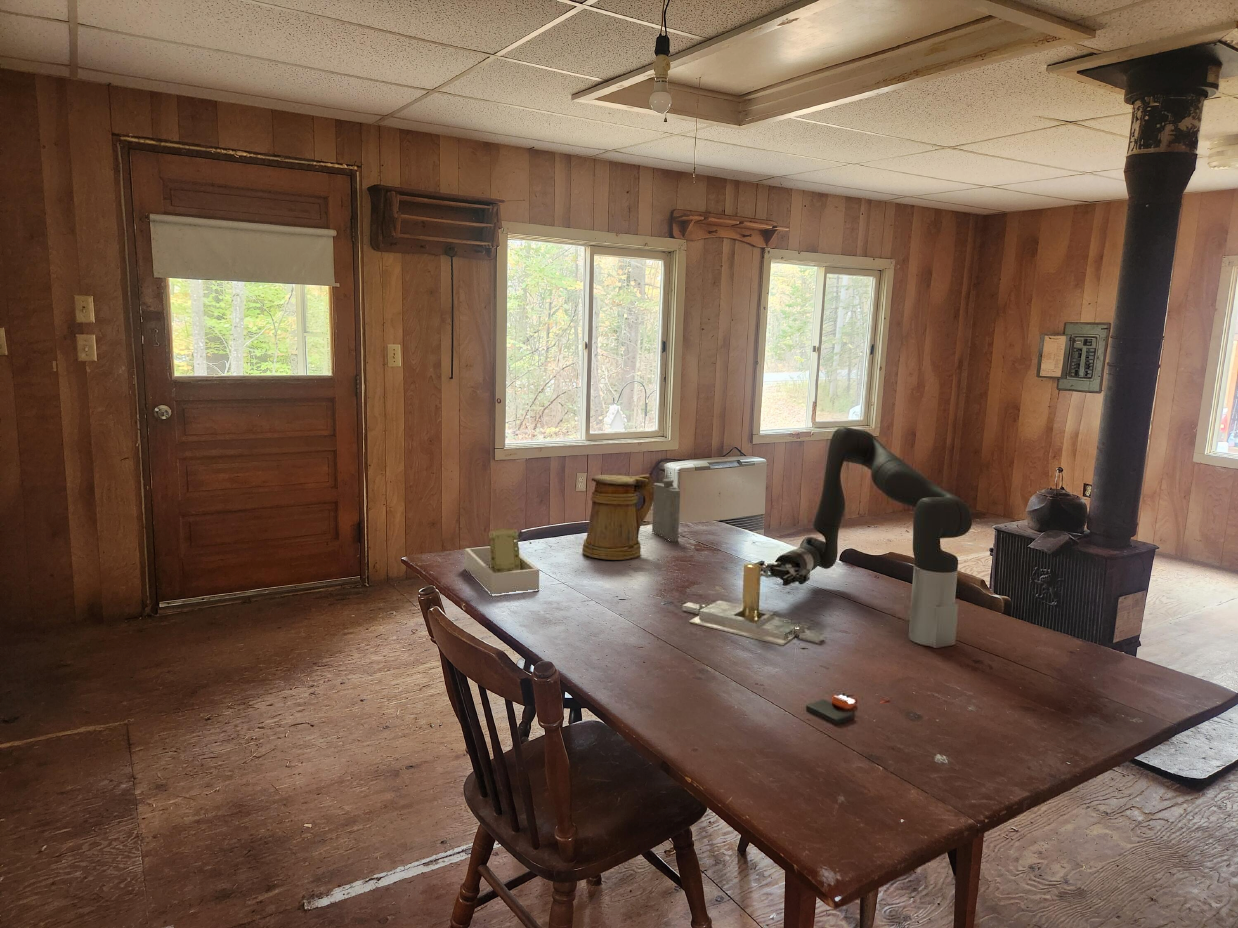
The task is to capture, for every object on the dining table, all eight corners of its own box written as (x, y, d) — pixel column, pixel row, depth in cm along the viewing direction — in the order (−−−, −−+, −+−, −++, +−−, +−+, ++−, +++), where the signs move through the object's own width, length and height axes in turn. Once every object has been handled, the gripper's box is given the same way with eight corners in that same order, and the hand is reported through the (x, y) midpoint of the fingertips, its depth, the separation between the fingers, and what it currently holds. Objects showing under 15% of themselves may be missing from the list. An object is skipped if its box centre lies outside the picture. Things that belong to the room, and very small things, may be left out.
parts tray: (539, 591, 214) (539, 569, 213) (491, 596, 209) (491, 574, 208) (508, 564, 240) (508, 544, 239) (465, 568, 234) (464, 548, 233)
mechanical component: (522, 596, 228) (517, 527, 233) (522, 591, 212) (516, 516, 216) (494, 599, 227) (490, 529, 232) (492, 594, 211) (487, 519, 215)
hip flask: (650, 531, 286) (652, 476, 283) (660, 531, 287) (662, 475, 284) (671, 542, 271) (673, 483, 268) (682, 541, 273) (684, 483, 270)
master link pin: (761, 624, 192) (764, 567, 190) (747, 626, 190) (750, 568, 188) (752, 618, 195) (754, 562, 193) (738, 620, 194) (740, 564, 192)
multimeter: (855, 683, 161) (856, 667, 160) (904, 707, 151) (905, 689, 150) (787, 703, 152) (788, 686, 151) (834, 729, 142) (835, 711, 141)
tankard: (573, 549, 259) (574, 472, 255) (638, 543, 269) (640, 469, 265) (596, 564, 242) (597, 482, 239) (664, 556, 253) (667, 478, 249)
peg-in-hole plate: (833, 631, 189) (834, 621, 189) (807, 651, 176) (807, 641, 176) (701, 601, 209) (701, 592, 209) (668, 617, 196) (668, 607, 196)
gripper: (770, 546, 215) (742, 558, 202) (821, 555, 207) (796, 568, 194) (768, 573, 216) (741, 587, 203) (819, 583, 208) (794, 598, 195)
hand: (768, 578), depth 199 cm, fingers open, 8 cm apart
